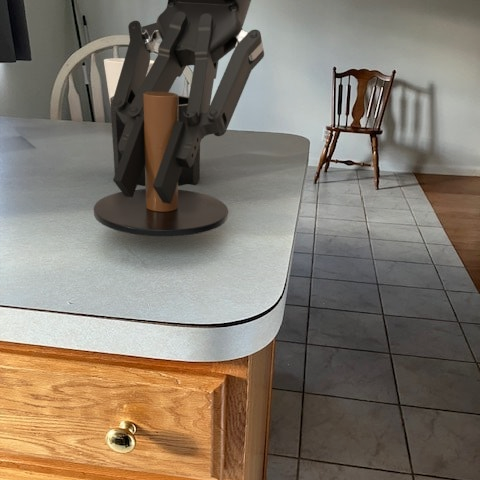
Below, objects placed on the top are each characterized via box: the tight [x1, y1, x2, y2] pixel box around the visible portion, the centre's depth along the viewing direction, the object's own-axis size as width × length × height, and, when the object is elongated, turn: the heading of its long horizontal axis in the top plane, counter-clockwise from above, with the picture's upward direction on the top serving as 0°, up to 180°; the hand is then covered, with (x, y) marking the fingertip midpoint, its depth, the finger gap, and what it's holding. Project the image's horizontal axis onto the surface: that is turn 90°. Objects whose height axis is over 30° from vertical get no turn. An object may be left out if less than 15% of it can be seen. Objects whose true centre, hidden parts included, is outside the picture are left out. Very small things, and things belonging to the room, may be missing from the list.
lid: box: [93, 91, 229, 237], centre depth 49 cm, size 13×13×11 cm
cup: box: [103, 57, 155, 107], centre depth 101 cm, size 10×10×13 cm
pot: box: [109, 94, 201, 187], centre depth 73 cm, size 12×17×10 cm
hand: (142, 191), depth 47 cm, fingers closed on lid, 3 cm apart
